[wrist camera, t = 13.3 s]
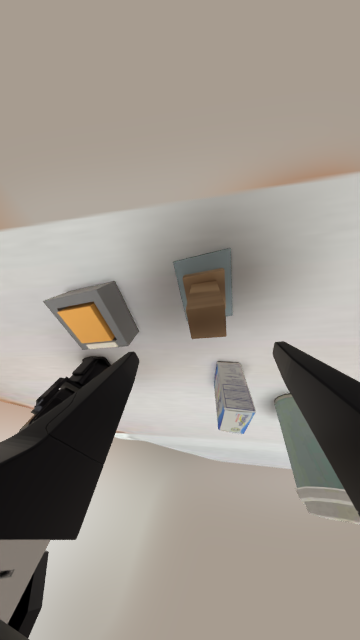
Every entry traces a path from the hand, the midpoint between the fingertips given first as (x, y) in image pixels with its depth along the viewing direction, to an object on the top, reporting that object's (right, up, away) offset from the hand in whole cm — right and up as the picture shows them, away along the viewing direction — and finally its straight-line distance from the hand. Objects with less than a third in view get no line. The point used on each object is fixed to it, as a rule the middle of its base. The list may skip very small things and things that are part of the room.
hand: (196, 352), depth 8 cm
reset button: (-15, +3, +14) cm, 20 cm away
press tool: (+2, +6, +9) cm, 11 cm away
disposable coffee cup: (+24, -16, +20) cm, 35 cm away
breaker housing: (-15, +3, +15) cm, 21 cm away
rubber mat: (+3, +6, +10) cm, 12 cm away
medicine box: (+9, -9, +19) cm, 23 cm away
